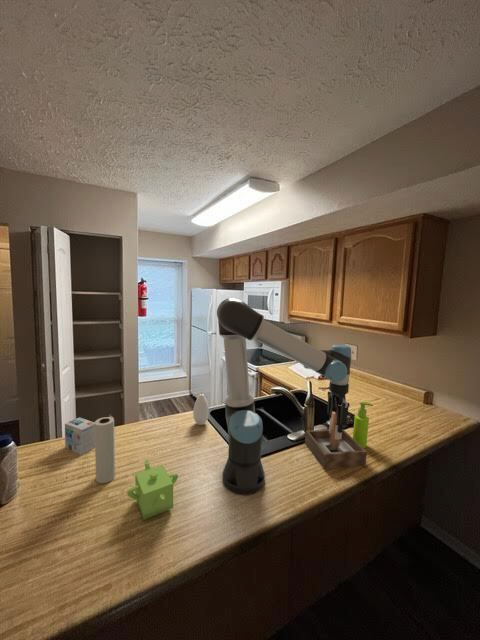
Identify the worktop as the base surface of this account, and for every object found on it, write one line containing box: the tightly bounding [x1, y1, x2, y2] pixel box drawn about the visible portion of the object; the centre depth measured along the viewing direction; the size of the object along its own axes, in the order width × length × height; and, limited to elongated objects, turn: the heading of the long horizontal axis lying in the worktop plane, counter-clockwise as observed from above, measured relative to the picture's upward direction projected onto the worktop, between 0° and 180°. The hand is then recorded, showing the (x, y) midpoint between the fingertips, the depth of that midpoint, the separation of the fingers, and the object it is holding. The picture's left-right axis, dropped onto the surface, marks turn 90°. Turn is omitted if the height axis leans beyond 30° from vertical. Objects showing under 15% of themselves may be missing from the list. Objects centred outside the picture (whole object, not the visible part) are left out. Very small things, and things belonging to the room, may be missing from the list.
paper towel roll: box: [94, 415, 116, 484], centre depth 95 cm, size 7×6×21 cm
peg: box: [330, 411, 340, 447], centre depth 114 cm, size 4×4×14 cm
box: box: [304, 429, 368, 470], centre depth 115 cm, size 18×18×6 cm
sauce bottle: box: [192, 389, 210, 426], centre depth 136 cm, size 8×8×18 cm
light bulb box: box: [64, 416, 95, 456], centre depth 113 cm, size 11×7×11 cm, turn 65°
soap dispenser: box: [352, 401, 374, 449], centre depth 122 cm, size 6×7×20 cm
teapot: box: [127, 459, 179, 521], centre depth 84 cm, size 15×13×11 cm
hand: (335, 435), depth 115 cm, fingers closed on peg, 4 cm apart
